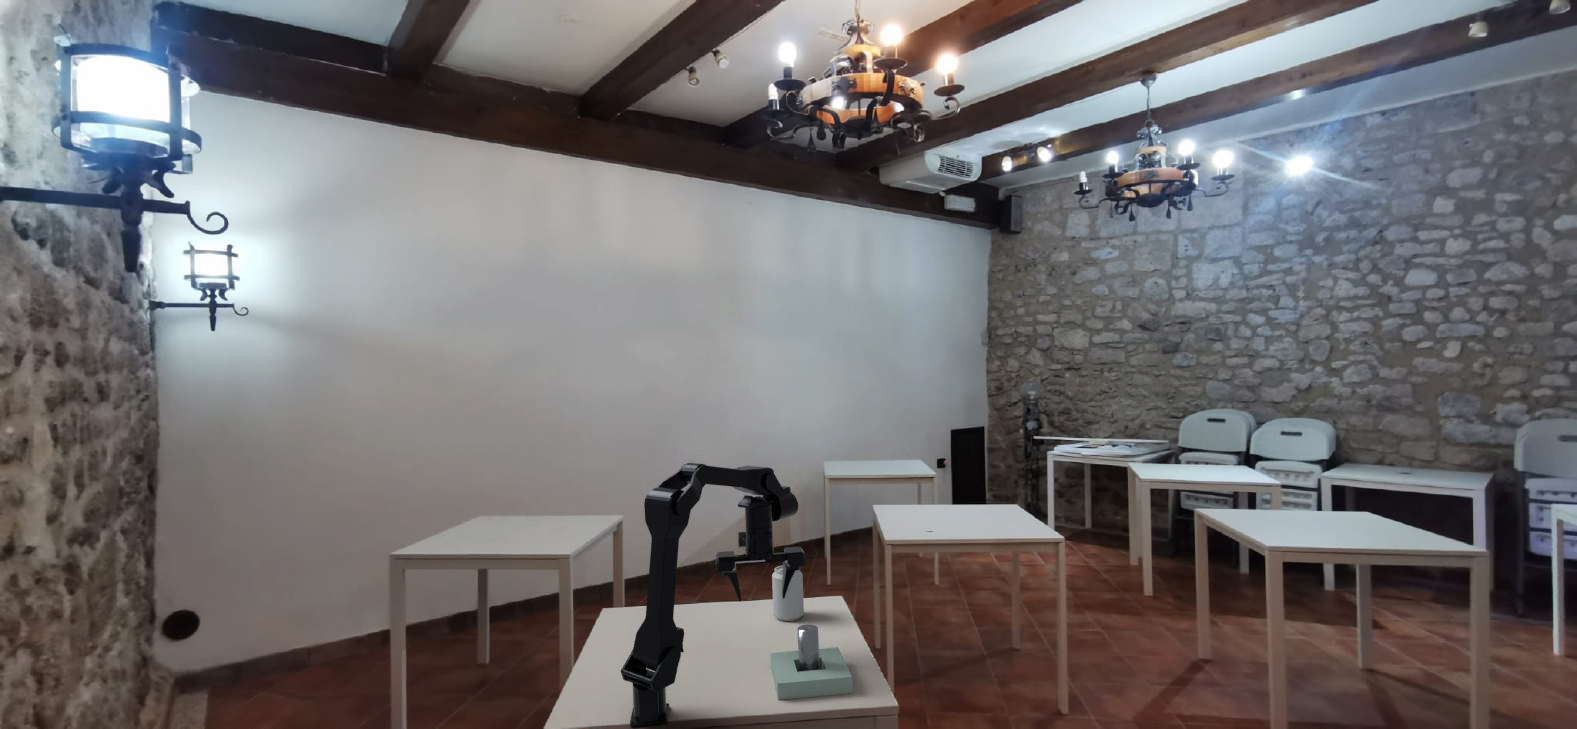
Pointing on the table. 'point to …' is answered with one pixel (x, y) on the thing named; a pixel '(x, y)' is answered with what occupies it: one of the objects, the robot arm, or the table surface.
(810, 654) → the peg
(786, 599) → the can
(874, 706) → the table surface
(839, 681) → the socket block
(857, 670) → the table surface
